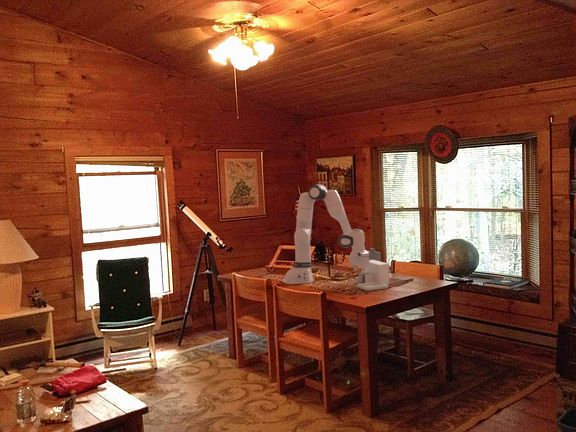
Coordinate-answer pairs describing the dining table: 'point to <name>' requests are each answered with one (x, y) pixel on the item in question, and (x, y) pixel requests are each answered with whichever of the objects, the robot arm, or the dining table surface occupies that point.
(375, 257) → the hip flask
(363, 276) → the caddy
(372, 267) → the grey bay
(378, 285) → the sage tray
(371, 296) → the dining table surface
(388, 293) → the dining table surface
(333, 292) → the dining table surface
